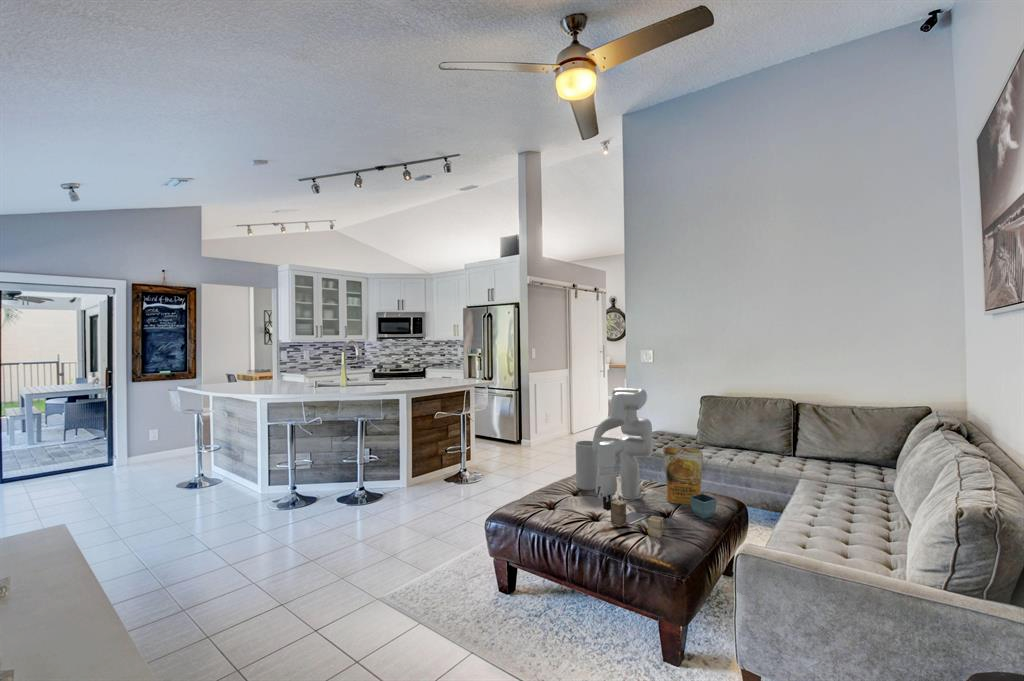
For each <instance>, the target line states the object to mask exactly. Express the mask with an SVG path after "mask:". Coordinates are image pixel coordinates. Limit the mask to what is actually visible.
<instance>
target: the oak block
mask: <svg viewBox="0 0 1024 681" xmlns="http://www.w3.org/2000/svg"><path fill="white" fill-rule="evenodd" d="M647 527H648V531H647V532H648V533H647V534H648V536H651V537H656V538H661V537H662V536H664V517H661V516H656V515H651V516H650V517H649V518H648V519H647Z"/></svg>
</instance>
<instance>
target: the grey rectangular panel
mask: <svg viewBox="0 0 1024 681" xmlns="http://www.w3.org/2000/svg"><path fill="white" fill-rule="evenodd" d="M646 518H647V516H646V515H643V514H641V513H637V512H635V511H631V510H630V511H628V512H626V525H627V524H628V525H633V524H635V523H637V522H640V521H641V520H643V519H646Z"/></svg>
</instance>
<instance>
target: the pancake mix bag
mask: <svg viewBox="0 0 1024 681" xmlns="http://www.w3.org/2000/svg"><path fill="white" fill-rule="evenodd" d="M662 450H663V461H664V472H665V477H666V479H665V481H666V488H667V489H666V490H667V491H666V492H667V493H666V502H669V503H671V504H677V505H685V506H686V505H687V506H691V501H690V497H691V496H695V495H699V494H701V490H702V480H703V479H702V478H703V457H704V456H703V450H701V449H700V448H690V447H689V448H688V447H687V448H686V447H671V446H670V447H669V446H667V447H663V449H662Z"/></svg>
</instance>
